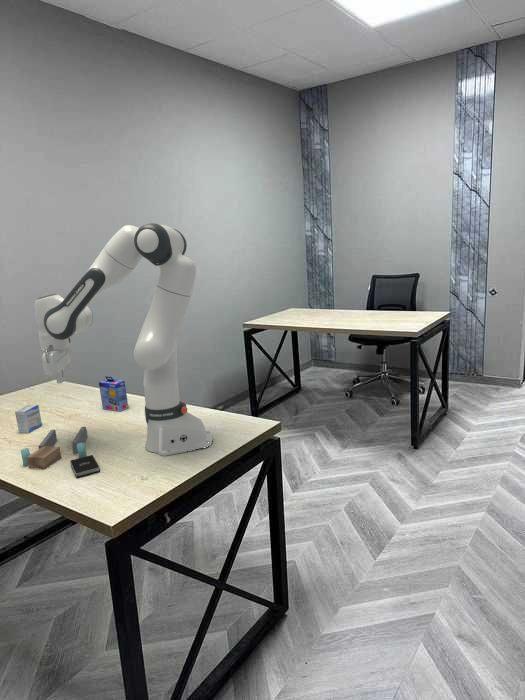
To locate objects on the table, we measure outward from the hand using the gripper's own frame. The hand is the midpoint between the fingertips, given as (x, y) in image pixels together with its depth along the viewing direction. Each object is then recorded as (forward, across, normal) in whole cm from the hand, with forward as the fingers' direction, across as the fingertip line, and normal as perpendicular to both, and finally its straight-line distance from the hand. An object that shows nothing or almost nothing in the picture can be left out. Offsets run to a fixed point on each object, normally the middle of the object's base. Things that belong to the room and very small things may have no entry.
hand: (61, 382), depth 165 cm
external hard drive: (+22, -24, -10) cm, 35 cm away
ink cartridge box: (+22, +31, -10) cm, 39 cm away
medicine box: (+22, +16, +18) cm, 32 cm away
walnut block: (+22, -17, +4) cm, 28 cm away
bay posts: (+22, -17, +1) cm, 27 cm away
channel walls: (+22, -5, +1) cm, 22 cm away
